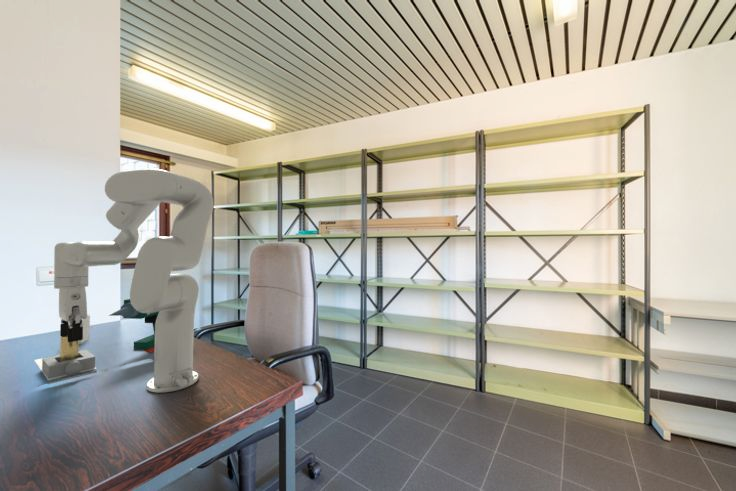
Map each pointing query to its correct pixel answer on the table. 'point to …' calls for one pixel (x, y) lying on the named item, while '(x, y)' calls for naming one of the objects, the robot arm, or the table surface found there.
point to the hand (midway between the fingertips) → (71, 338)
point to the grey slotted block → (66, 366)
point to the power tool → (131, 313)
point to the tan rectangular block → (68, 349)
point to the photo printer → (85, 329)
